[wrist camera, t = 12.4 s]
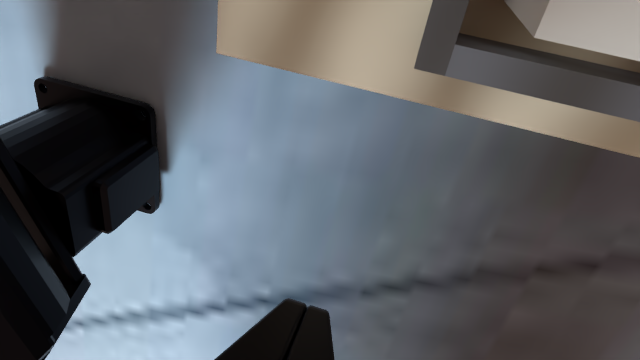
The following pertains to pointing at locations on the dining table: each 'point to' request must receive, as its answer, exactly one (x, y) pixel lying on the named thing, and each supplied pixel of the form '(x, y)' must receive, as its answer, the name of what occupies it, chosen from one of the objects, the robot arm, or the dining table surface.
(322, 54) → the header board
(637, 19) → the plug
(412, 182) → the dining table surface
